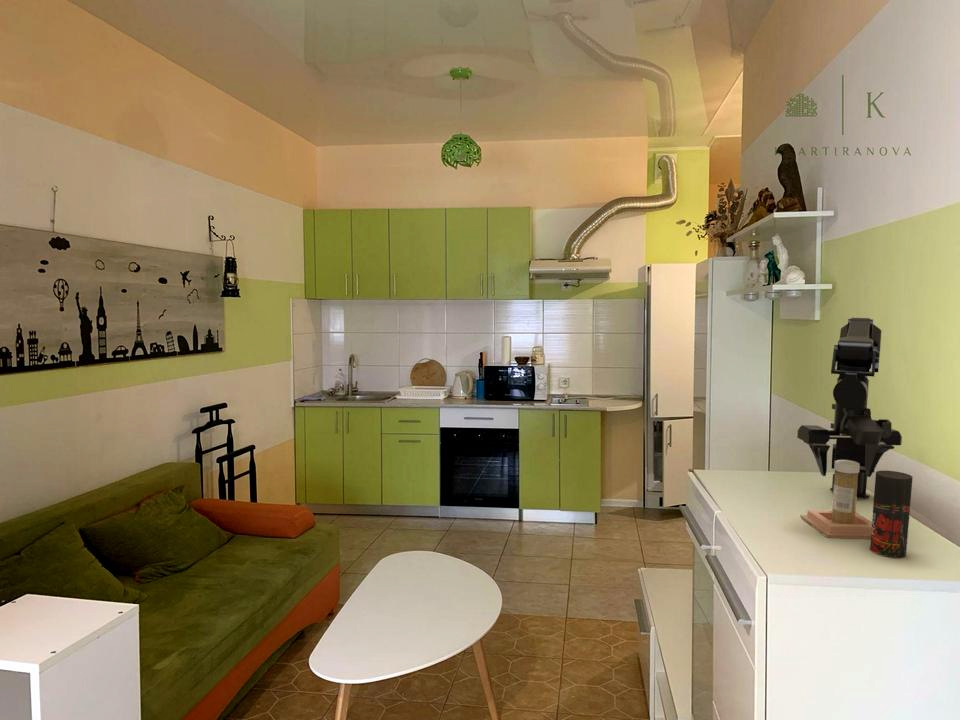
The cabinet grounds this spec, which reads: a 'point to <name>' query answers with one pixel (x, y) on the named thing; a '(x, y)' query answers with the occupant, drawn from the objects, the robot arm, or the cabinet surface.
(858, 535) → the tray
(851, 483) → the sprinkles bottle
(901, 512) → the deodorant
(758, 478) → the cabinet surface
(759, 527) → the cabinet surface
